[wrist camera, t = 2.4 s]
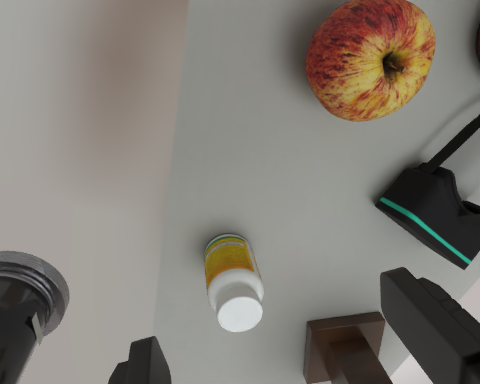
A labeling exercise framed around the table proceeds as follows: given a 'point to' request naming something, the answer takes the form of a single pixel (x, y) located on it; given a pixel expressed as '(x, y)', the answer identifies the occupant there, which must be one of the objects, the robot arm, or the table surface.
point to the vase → (478, 43)
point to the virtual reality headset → (437, 206)
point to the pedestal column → (345, 350)
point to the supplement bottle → (233, 282)
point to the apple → (370, 58)
